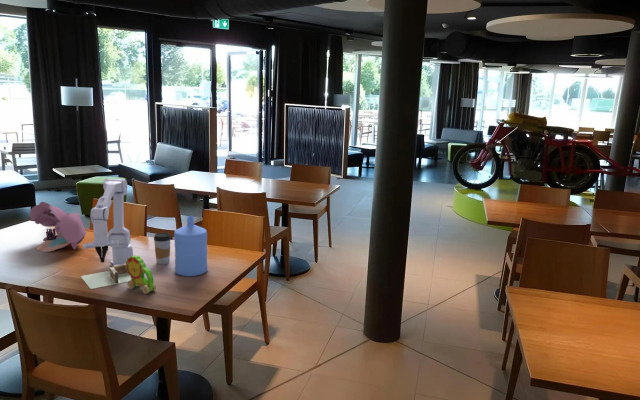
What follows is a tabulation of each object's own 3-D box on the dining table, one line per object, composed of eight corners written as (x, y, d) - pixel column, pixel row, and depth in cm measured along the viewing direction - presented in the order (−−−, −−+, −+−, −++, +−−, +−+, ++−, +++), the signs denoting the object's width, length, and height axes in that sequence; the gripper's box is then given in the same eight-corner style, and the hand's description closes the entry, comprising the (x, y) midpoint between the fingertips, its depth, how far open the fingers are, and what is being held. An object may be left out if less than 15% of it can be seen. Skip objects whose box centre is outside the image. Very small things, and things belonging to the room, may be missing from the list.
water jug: (213, 272, 242) (213, 217, 236) (185, 279, 231) (183, 222, 225) (197, 263, 253) (196, 211, 246) (169, 270, 242) (167, 215, 236)
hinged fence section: (110, 275, 230) (109, 266, 229) (113, 275, 231) (113, 265, 230) (115, 283, 222) (114, 273, 221) (119, 282, 223) (118, 272, 222)
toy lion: (157, 291, 217) (156, 259, 213) (147, 295, 212) (145, 262, 209) (133, 282, 225) (132, 251, 221) (123, 286, 220) (121, 254, 217)
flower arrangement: (22, 256, 266) (3, 208, 256) (55, 236, 287) (39, 192, 276) (72, 259, 255) (55, 209, 245) (103, 238, 276) (88, 192, 265)
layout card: (132, 266, 244) (132, 266, 244) (144, 278, 231) (144, 277, 230) (80, 276, 229) (80, 276, 229) (90, 289, 216) (90, 288, 216)
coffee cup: (174, 261, 254) (174, 234, 251) (163, 266, 246) (162, 238, 243) (162, 258, 257) (161, 231, 254) (151, 263, 250) (150, 235, 247)
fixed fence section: (134, 271, 239) (134, 261, 238) (135, 272, 238) (135, 261, 236) (109, 275, 232) (109, 265, 230) (110, 276, 230) (110, 266, 229)
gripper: (83, 237, 212) (85, 266, 215) (119, 234, 219) (120, 262, 222) (82, 233, 218) (84, 261, 221) (117, 229, 225) (118, 257, 228)
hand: (102, 261), depth 222 cm, fingers closed
